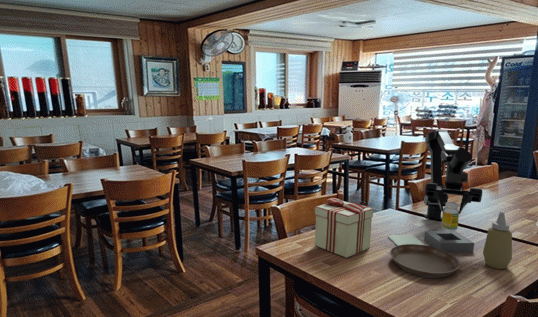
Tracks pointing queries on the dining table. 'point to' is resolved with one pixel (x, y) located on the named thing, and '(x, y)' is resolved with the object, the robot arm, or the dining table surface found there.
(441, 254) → the plant saucer
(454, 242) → the holder
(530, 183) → the dining table surface
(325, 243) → the gift box
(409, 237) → the tile
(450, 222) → the supplement bottle
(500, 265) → the squeeze bottle
